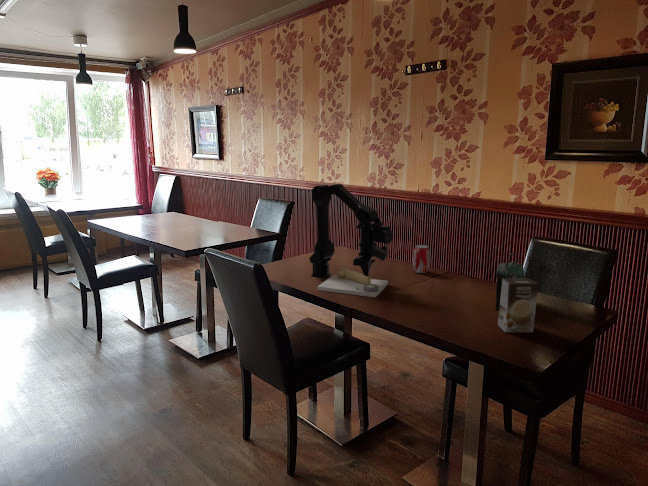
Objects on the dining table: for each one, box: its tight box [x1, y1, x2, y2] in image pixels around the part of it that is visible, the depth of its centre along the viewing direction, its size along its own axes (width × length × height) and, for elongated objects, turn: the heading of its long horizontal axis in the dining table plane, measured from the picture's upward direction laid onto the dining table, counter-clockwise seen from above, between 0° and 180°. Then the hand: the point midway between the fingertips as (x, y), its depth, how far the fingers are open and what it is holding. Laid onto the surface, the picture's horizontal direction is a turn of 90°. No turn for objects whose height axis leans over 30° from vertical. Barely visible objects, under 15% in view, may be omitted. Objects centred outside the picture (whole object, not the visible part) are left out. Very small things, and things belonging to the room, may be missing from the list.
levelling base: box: [317, 274, 389, 298], centre depth 198 cm, size 24×18×3 cm
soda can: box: [412, 244, 431, 274], centre depth 219 cm, size 7×7×12 cm
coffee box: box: [497, 277, 539, 333], centre depth 154 cm, size 9×6×16 cm
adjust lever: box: [337, 267, 372, 285], centre depth 202 cm, size 17×4×4 cm, turn 42°
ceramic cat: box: [495, 252, 526, 312], centre depth 175 cm, size 20×6×20 cm, turn 139°
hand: (366, 277), depth 199 cm, fingers closed
